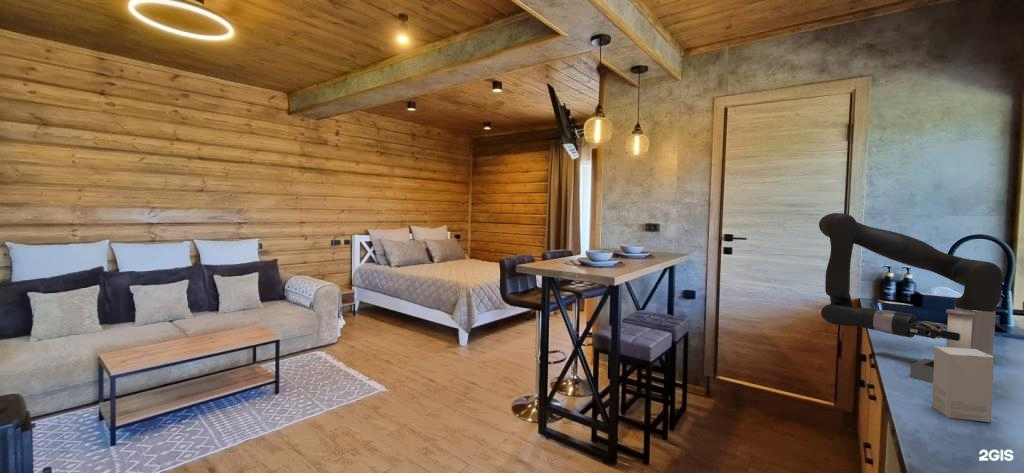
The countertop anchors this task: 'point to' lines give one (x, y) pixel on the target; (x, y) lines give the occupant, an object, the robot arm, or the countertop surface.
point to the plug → (960, 327)
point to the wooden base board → (922, 370)
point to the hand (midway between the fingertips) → (964, 335)
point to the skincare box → (963, 383)
